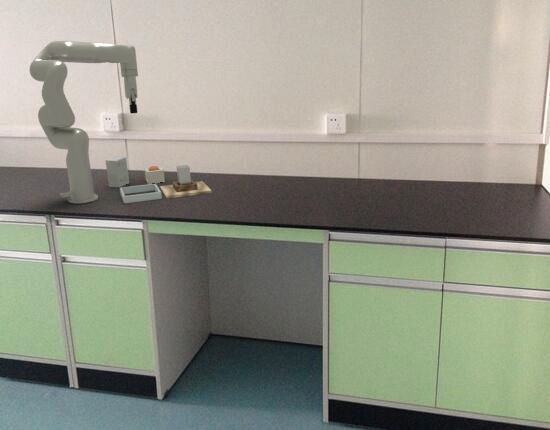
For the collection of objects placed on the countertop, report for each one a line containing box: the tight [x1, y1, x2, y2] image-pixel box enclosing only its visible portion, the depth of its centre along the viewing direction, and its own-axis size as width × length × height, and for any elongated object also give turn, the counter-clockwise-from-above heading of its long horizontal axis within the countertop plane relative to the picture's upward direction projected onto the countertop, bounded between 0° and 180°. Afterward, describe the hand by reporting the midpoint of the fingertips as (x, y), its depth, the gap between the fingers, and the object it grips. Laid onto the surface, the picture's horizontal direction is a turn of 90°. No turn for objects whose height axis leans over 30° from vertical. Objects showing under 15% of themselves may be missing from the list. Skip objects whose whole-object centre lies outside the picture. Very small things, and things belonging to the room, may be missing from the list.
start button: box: [149, 165, 159, 171], centre depth 267 cm, size 4×4×3 cm
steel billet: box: [176, 164, 192, 185], centre depth 248 cm, size 5×5×10 cm
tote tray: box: [119, 183, 163, 204], centre depth 243 cm, size 16×16×3 cm
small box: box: [104, 156, 130, 189], centre depth 262 cm, size 8×6×13 cm
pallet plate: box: [159, 178, 212, 200], centre depth 250 cm, size 20×18×4 cm
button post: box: [144, 166, 165, 185], centre depth 267 cm, size 8×8×6 cm
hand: (133, 113), depth 261 cm, fingers closed
